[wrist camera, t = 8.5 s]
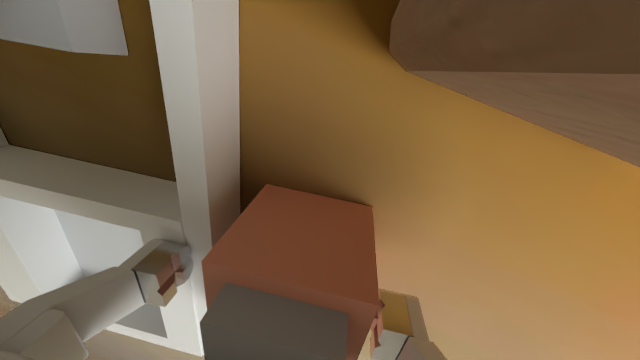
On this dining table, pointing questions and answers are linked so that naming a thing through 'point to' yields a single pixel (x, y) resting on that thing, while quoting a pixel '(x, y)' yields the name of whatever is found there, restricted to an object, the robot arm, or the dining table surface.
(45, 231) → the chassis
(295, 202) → the two-tone grey-capped cube
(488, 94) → the wooden block
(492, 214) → the dining table surface
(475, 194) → the dining table surface
